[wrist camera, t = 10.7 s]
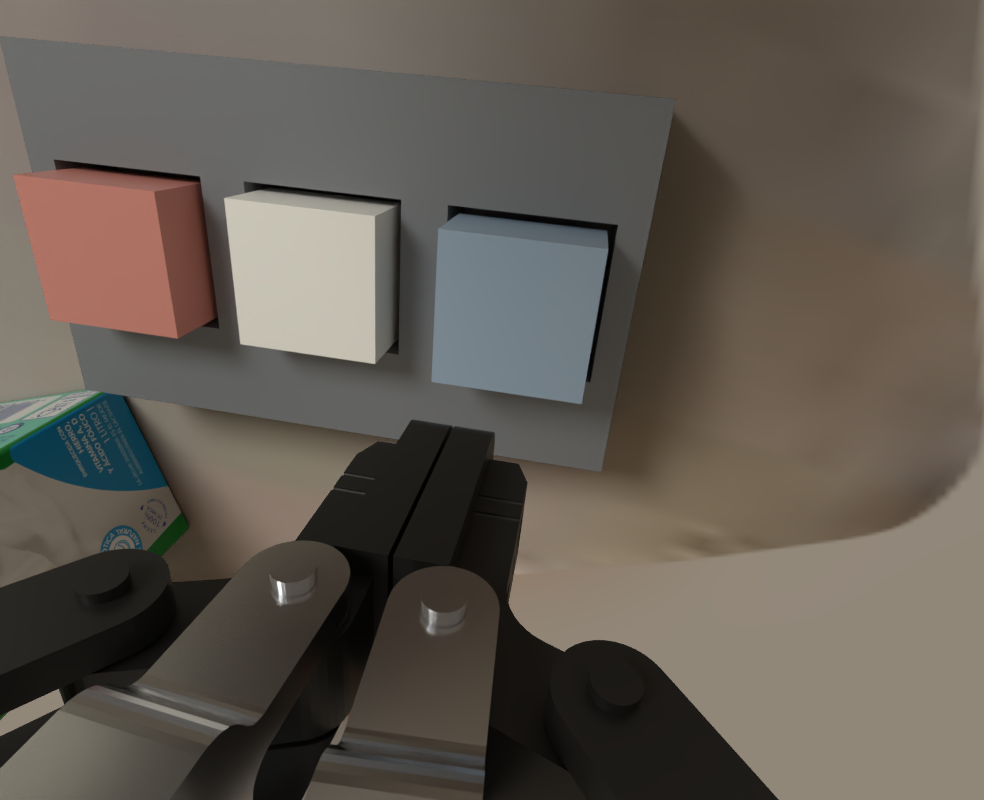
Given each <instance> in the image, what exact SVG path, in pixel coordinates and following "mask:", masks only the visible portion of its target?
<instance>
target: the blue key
mask: <svg viewBox="0 0 984 800" xmlns="http://www.w3.org/2000/svg"><path fill="white" fill-rule="evenodd" d="M607 255H608V235H607V230H598V229H590V228H581V227H573V226H564V225H556V224H547V223H539V222H530V221H522V220H513V219H505V218H496V217H488V216H479V215H471V214H462V213H459V214H458V215H456V216H455V217H454V218H452V219H451V220H449V221H448V222H447V223H445V224H444V225H443V226H441V227H440V228H439V229H438V245H437V267H436V290H435V313H434V335H433V358H432V381H431V382H436V383H442V384H449V385H456V386H462V387H469V388H476V389H483V390H489V391H496V392H503V393H510V394H516V395H523V396H530V397H536V398H543V399H550V400H557V401H563V402H570V403H577V404H582V399H583V393H584V388H585V382H586V376H587V370H588V364H589V359H590V353H591V347H592V341H593V336H594V330H595V324H596V318H597V312H598V307H599V301H600V295H601V289H602V284H603V278H604V272H605V266H606V260H607Z"/></svg>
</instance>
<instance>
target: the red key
mask: <svg viewBox="0 0 984 800" xmlns="http://www.w3.org/2000/svg"><path fill="white" fill-rule="evenodd" d="M13 177H14V181H15V184H16V188H17V192H18V196H19V200H20V204H21V208H22V211H23V215H24V219H25V223H26V227H27V231H28V234H29V238H30V242H31V246H32V250H33V254H34V257H35V261H36V265H37V269H38V273H39V277H40V280H41V284H42V288H43V292H44V296H45V300H46V303H47V307H48V311H49V315H50V319H51V320H55V321H62V322H69V323H75V324H82V325H89V326H96V327H102V328H109V329H116V330H123V331H130V332H136V333H143V334H150V335H157V336H163V337H170V338H177V339H178V338H180V337H182V336H184V335H185V334H187V333H189V332H191V331H193V330H195V329H197V328H198V327H200V326H202V325H204V324H206V323H208V322H210V321H211V320H213V319H215V318H217V317H218V313H217V305H216V297H215V290H214V282H213V274H212V266H211V258H210V250H209V243H208V235H207V227H206V219H205V211H204V203H203V195H202V188H201V181H199V180H191V179H182V178H173V177H165V176H156V175H148V174H139V173H131V172H122V171H114V170H105V169H96V168H88V167H79V168H70V169H61V170H51V171H42V172H33V173H24V174H15V175H13Z"/></svg>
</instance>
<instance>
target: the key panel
mask: <svg viewBox="0 0 984 800" xmlns="http://www.w3.org/2000/svg"><path fill="white" fill-rule="evenodd" d="M0 43H1V47H2V51H3V56H4V60H5V64H6V68H7V72H8V76H9V80H10V84H11V88H12V92H13V96H14V100H15V104H16V108H17V112H18V116H19V120H20V125H21V129H22V133H23V137H24V141H25V145H26V149H27V153H28V157H29V161H30V165H31V169H32V173H33V172H42V171H51V170H61V169H70V168H79V167H88V168H96V169H105V170H114V171H122V172H131V173H139V174H148V175H156V176H165V177H173V178H182V179H191V180H199V181H201V188H202V195H203V203H204V211H205V219H206V227H207V235H208V243H209V250H210V258H211V266H212V274H213V282H214V290H215V297H216V305H217V313H218V317H217V318H215V319H213V320H211V321H210V322H208V323H206V324H204V325H202V326H200V327H198V328H197V329H195V330H193V331H191V332H189V333H187V334H185V335H184V336H182V337H180V338H178V339H177V338H170V337H163V336H157V335H150V334H143V333H136V332H130V331H123V330H116V329H109V328H102V327H96V326H89V325H82V324H75V323H70V327H71V331H72V336H73V340H74V344H75V348H76V352H77V356H78V360H79V364H80V368H81V372H82V376H83V380H84V384H85V388H86V390H92V391H98V392H104V393H110V394H117V395H123V396H129V397H135V398H142V399H148V400H154V401H160V402H166V403H173V404H179V405H185V406H191V407H198V408H204V409H210V410H216V411H223V412H229V413H235V414H241V415H248V416H254V417H260V418H266V419H272V420H279V421H285V422H291V423H297V424H304V425H310V426H316V427H322V428H329V429H335V430H341V431H347V432H354V433H360V434H366V435H372V436H379V437H385V438H391V439H397V440H399V438H400V437H401V435H402V434H403V432H404V430H405V429H406V427H407V425H408V424H409V422H410V421H411V420H413V419H414V420H420V421H426V422H433V423H439V424H445V425H452V426H453V427H454V426H459V427H465V428H472V429H478V430H484V431H491V432H495V445H494V455H497V456H503V457H509V458H516V459H522V460H528V461H534V462H541V463H547V464H553V465H559V466H566V467H572V468H578V469H584V470H591V471H597V472H601V469H602V464H603V459H604V454H605V450H606V445H607V440H608V435H609V430H610V425H611V420H612V415H613V410H614V405H615V400H616V395H617V390H618V385H619V380H620V375H621V370H622V365H623V360H624V355H625V350H626V345H627V340H628V335H629V330H630V325H631V320H632V315H633V310H634V305H635V300H636V295H637V290H638V285H639V280H640V275H641V270H642V265H643V261H644V256H645V251H646V246H647V241H648V236H649V231H650V226H651V221H652V216H653V211H654V206H655V201H656V196H657V191H658V186H659V181H660V176H661V171H662V166H663V161H664V156H665V151H666V146H667V141H668V136H669V131H670V126H671V121H672V116H673V111H674V106H675V101H676V99H671V98H661V97H650V96H639V95H628V94H618V93H607V92H596V91H585V90H575V89H564V88H553V87H542V86H531V85H521V84H510V83H499V82H488V81H478V80H467V79H456V78H445V77H434V76H424V75H413V74H402V73H391V72H381V71H370V70H359V69H348V68H338V67H327V66H316V65H305V64H294V63H284V62H273V61H262V60H251V59H241V58H230V57H219V56H208V55H197V54H187V53H176V52H165V51H154V50H144V49H133V48H122V47H111V46H101V45H90V44H79V43H68V42H57V41H47V40H36V39H25V38H14V37H4V36H0ZM270 187H271V188H280V189H289V190H297V191H306V192H314V193H323V194H331V195H340V196H349V197H357V198H366V199H374V200H383V201H391V202H400V203H401V241H400V302H399V338H398V339H397V340H396V341H395V342H394V343H393V345H392V346H391V347H390V348H389V349H388V350H387V351H386V353H385V354H384V355H383V356H382V357H381V358H380V359H379V360H378V362H377V363H376V364H372V363H365V362H358V361H351V360H345V359H338V358H331V357H324V356H317V355H310V354H304V353H297V352H290V351H283V350H276V349H270V348H263V347H256V346H249V345H242V344H240V336H239V327H238V318H237V309H236V301H235V292H234V283H233V274H232V265H231V256H230V247H229V238H228V229H227V220H226V211H225V202H224V198H227V197H231V196H235V195H240V194H244V193H248V192H252V191H257V190H261V189H265V188H270ZM459 213H462V214H471V215H479V216H488V217H496V218H505V219H513V220H522V221H530V222H539V223H547V224H556V225H564V226H573V227H581V228H590V229H598V230H607V235H608V255H607V260H606V266H605V272H604V278H603V284H602V289H601V295H600V301H599V307H598V312H597V318H596V324H595V330H594V336H593V341H592V347H591V353H590V359H589V364H588V370H587V376H586V382H585V388H584V393H583V399H582V404H577V403H570V402H563V401H557V400H550V399H543V398H536V397H530V396H523V395H516V394H510V393H503V392H496V391H489V390H483V389H476V388H469V387H462V386H456V385H449V384H442V383H436V382H431V381H432V358H433V335H434V313H435V290H436V267H437V245H438V229H439V228H440V227H441V226H443V225H444V224H445V223H447V222H448V221H449V220H451V219H452V218H454V217H455V216H456V215H458V214H459Z"/></svg>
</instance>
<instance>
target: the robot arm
mask: <svg viewBox="0 0 984 800" xmlns="http://www.w3.org/2000/svg"><path fill="white" fill-rule="evenodd" d="M494 445H495V432H491V431H484V430H478V429H472V428H465V427H459V426H454V427H453V426H452V425H445V424H439V423H433V422H426V421H420V420H414V419H413V420H411V421H410V422H409V424H408V425H407V427H406V429H405V430H404V432H403V434H402V435H401V437H400V438H399V440H398V442H397V443H396V444H391V443H385V442H379V441H378V442H377V443H375V444H373V445H372V446H370V447H368V448H367V449H365V450H363V451H362V452H360V453H358V454H357V455H356V456H355V458H354V459H353V460H352V462H351V463H350V465H349V466H348V467H347V469H346V470H345V472H344V476H343V475H342V476H341V477H340V479H339V480H338V481H337V483H336V484H335V486H334V489H333V490H331V491H330V493H329V494H328V495H327V497H326V498H325V500H324V501H323V502H322V504H321V505H320V507H319V508H318V509H317V511H316V512H315V514H314V515H313V516H312V518H311V519H310V521H309V522H308V523H307V525H306V526H305V528H304V529H303V530H302V532H301V533H300V535H299V536H298V537H297V539H296V540H295V541H291V542H285V543H282V544H278V545H275V546H272V547H270V548H267V549H265V550H263V551H261V552H260V553H258V554H257V555H255V556H254V557H252V558H251V559H250V560H249V561H248V562H247V563H246V564H245V565H244V566H243V567H242V568H241V569H240V570H239V571H238V572H237V573H236V575H235V576H234V577H233V578H228V579H218V580H202V581H186V582H172V581H171V576H170V571H169V567H168V565H167V563H166V562H165V560H164V559H163V558H162V557H160V556H159V555H157V554H155V553H153V552H150V551H146V550H142V549H117V550H110V551H105V552H101V553H97V554H94V555H91V556H88V557H85V558H82V559H79V560H77V561H74V562H71V563H68V564H65V565H63V566H60V567H57V568H54V569H51V570H48V571H46V572H43V573H40V574H37V575H34V576H31V577H29V578H26V579H23V580H20V581H17V582H15V583H12V584H9V585H6V586H3V587H0V715H3V714H5V713H7V712H9V711H11V710H13V709H15V708H18V707H20V706H22V705H24V704H26V703H28V702H31V701H33V700H35V699H37V698H39V697H41V696H44V695H46V694H48V693H50V692H52V691H54V690H57V689H59V691H60V694H61V696H62V699H63V702H64V706H62V707H61V708H59V709H57V710H54V711H52V712H50V713H48V714H46V715H44V716H42V717H40V718H38V719H36V720H33V721H31V722H29V723H27V724H25V725H23V726H21V727H19V728H17V729H15V730H13V731H11V732H8V733H6V734H4V735H2V736H0V800H778V799H777V797H776V796H775V795H774V794H773V793H772V792H771V791H770V790H769V789H768V787H766V785H765V784H764V783H763V782H762V781H761V780H760V779H759V777H758V776H757V775H756V774H755V773H754V772H753V771H752V770H751V769H750V768H749V766H748V765H747V764H746V763H745V762H744V761H743V760H742V759H741V758H740V756H739V755H738V754H737V753H736V752H735V751H734V750H733V749H732V747H730V745H729V744H728V743H727V742H726V741H725V740H724V739H723V737H722V736H721V735H720V734H719V733H718V732H717V731H716V730H715V729H714V727H713V726H712V725H711V724H710V723H709V722H708V721H707V720H706V718H705V717H704V716H703V715H702V714H701V713H700V712H699V711H698V710H697V708H696V707H695V706H694V705H693V704H692V703H691V702H690V701H689V700H688V698H687V697H686V696H685V695H684V694H683V693H682V692H681V691H680V690H679V688H678V687H677V686H676V685H675V684H674V683H673V682H672V681H671V679H670V678H669V677H668V676H667V675H666V674H665V673H664V672H663V671H662V670H661V668H659V667H658V666H657V665H656V664H655V663H654V662H653V661H652V660H651V659H649V658H648V657H647V656H645V655H644V654H642V653H641V652H639V651H637V650H636V649H633V648H631V647H629V646H626V645H624V644H620V643H617V642H612V641H605V640H594V641H585V642H582V643H579V644H576V645H574V646H572V647H570V648H568V649H567V650H566V651H565V652H563V651H561V650H559V649H557V648H555V647H553V646H551V645H549V644H547V643H545V642H543V641H542V640H540V639H538V638H536V637H535V636H533V635H532V634H531V633H530V632H528V631H527V630H526V629H525V628H524V627H523V626H522V625H521V624H520V623H519V622H518V621H517V619H516V618H515V617H514V615H513V613H512V611H511V609H510V607H509V604H508V602H509V597H510V591H511V586H512V580H513V575H514V570H515V564H516V559H517V554H518V547H519V540H520V533H521V526H522V518H523V511H524V504H525V497H526V489H527V481H526V479H525V476H524V474H523V472H522V470H521V468H520V466H519V464H515V463H509V462H503V461H497V460H493V455H494Z"/></svg>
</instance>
